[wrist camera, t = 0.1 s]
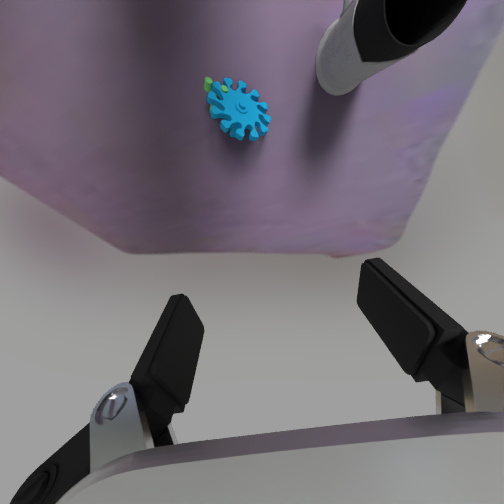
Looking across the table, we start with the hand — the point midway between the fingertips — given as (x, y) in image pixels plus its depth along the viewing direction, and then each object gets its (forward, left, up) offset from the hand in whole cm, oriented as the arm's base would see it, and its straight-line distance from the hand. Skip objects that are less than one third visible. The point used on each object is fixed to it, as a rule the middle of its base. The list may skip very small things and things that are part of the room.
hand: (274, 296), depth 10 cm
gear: (-9, -8, -32) cm, 34 cm away
